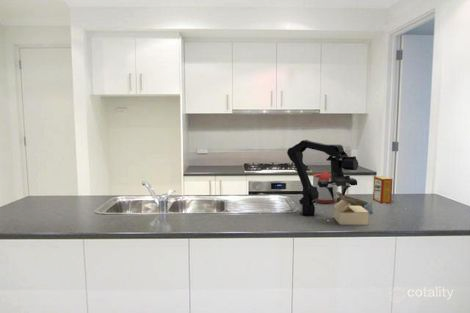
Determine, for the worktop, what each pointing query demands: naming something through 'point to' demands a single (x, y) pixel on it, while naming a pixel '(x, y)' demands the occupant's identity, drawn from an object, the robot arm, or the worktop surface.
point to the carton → (352, 216)
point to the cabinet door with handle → (342, 203)
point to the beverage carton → (358, 203)
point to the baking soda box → (382, 189)
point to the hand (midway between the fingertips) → (337, 199)
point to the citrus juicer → (324, 188)
